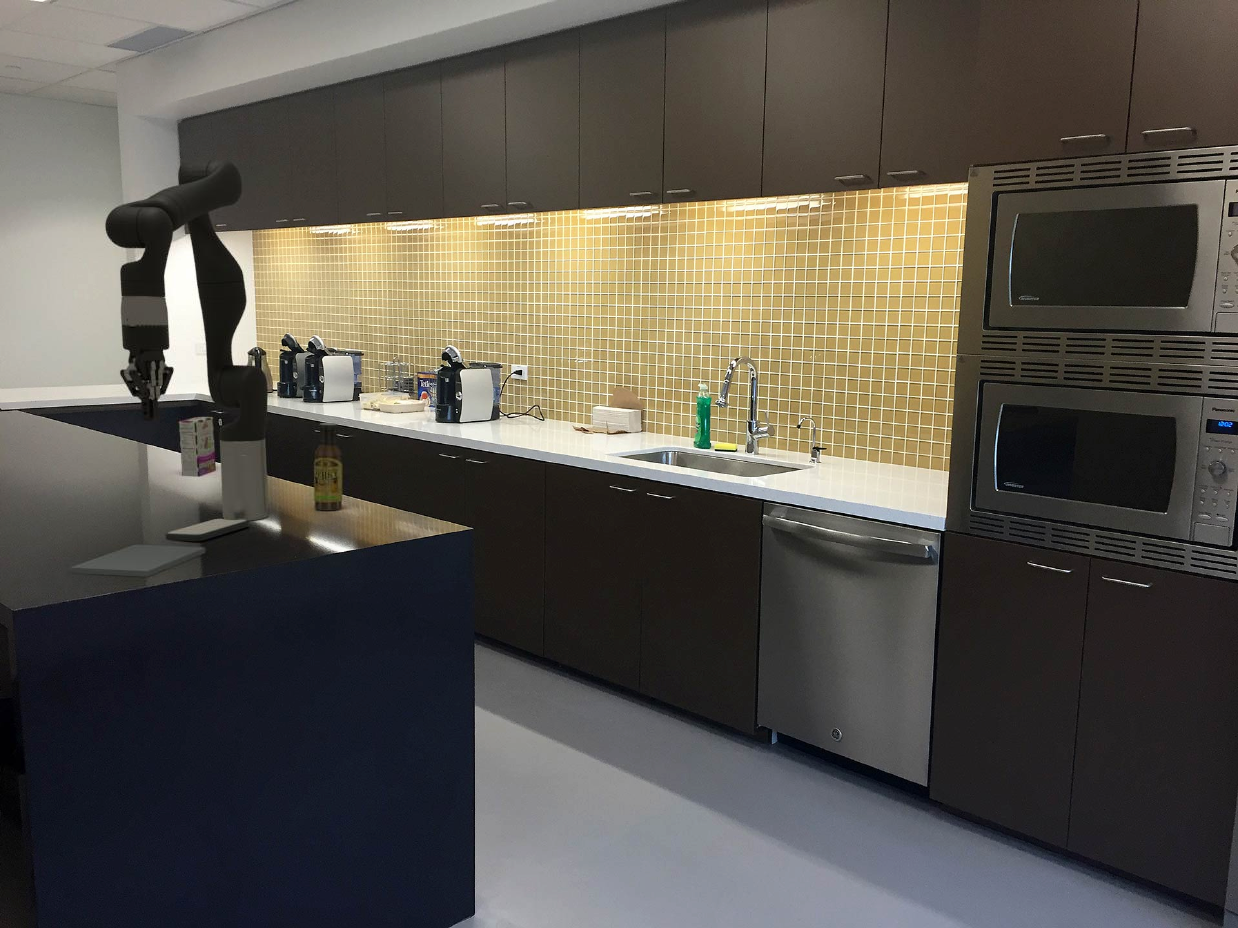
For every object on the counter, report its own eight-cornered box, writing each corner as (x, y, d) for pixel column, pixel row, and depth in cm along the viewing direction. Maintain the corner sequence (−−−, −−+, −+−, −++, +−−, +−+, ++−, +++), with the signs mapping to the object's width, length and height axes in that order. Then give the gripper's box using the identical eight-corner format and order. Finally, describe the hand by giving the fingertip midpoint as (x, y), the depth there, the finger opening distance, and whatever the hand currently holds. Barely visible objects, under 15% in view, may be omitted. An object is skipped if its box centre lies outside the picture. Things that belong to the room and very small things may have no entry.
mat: (135, 549, 184) (135, 544, 184) (205, 552, 183) (205, 547, 182) (70, 573, 167) (70, 567, 166) (147, 576, 165) (147, 571, 165)
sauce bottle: (311, 511, 224) (308, 424, 221) (318, 506, 230) (316, 422, 227) (339, 511, 224) (337, 425, 222) (346, 506, 231) (344, 422, 228)
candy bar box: (198, 475, 275) (196, 416, 272) (216, 475, 275) (214, 416, 272) (180, 481, 264) (177, 420, 261) (199, 481, 264) (196, 420, 261)
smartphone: (200, 543, 190) (252, 526, 206) (199, 535, 190) (252, 519, 205) (162, 541, 193) (216, 525, 208) (161, 533, 192) (216, 518, 208)
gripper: (147, 322, 181) (152, 416, 183) (101, 322, 168) (107, 423, 170) (185, 323, 180) (190, 417, 182) (142, 323, 167) (148, 424, 169)
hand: (150, 420), depth 176 cm, fingers closed
